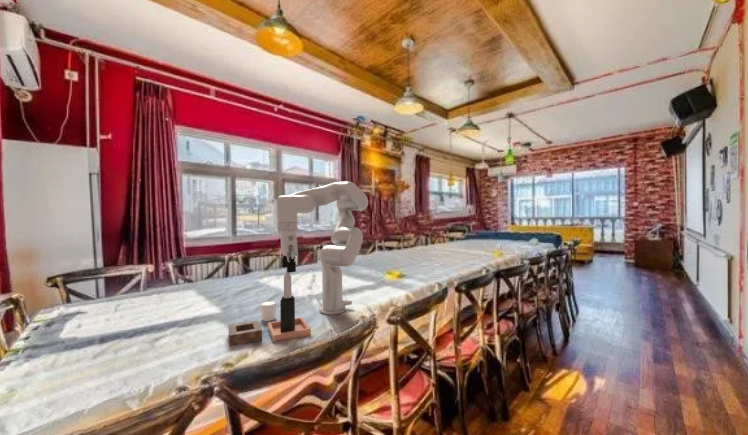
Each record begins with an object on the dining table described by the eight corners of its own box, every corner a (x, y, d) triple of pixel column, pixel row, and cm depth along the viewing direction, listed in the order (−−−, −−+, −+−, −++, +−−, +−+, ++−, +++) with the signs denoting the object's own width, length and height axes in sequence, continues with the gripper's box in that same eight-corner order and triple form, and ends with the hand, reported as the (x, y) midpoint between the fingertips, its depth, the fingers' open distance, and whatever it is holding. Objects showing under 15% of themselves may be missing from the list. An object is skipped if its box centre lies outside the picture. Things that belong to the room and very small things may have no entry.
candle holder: (258, 329, 125) (258, 320, 125) (262, 340, 115) (262, 329, 115) (228, 335, 120) (228, 324, 120) (229, 346, 110) (229, 335, 110)
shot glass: (271, 321, 134) (271, 306, 133) (257, 320, 135) (257, 305, 135) (279, 316, 140) (279, 301, 140) (265, 315, 142) (265, 300, 141)
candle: (282, 328, 125) (282, 267, 124) (295, 327, 126) (295, 267, 125) (280, 333, 120) (279, 269, 119) (293, 332, 121) (293, 269, 120)
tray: (301, 322, 132) (301, 317, 132) (310, 335, 120) (310, 328, 120) (267, 328, 126) (267, 322, 126) (273, 342, 114) (273, 335, 114)
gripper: (302, 228, 116) (303, 273, 116) (292, 225, 131) (293, 264, 132) (282, 229, 112) (283, 275, 113) (274, 225, 128) (275, 266, 128)
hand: (288, 269), depth 122 cm, fingers open, 9 cm apart
